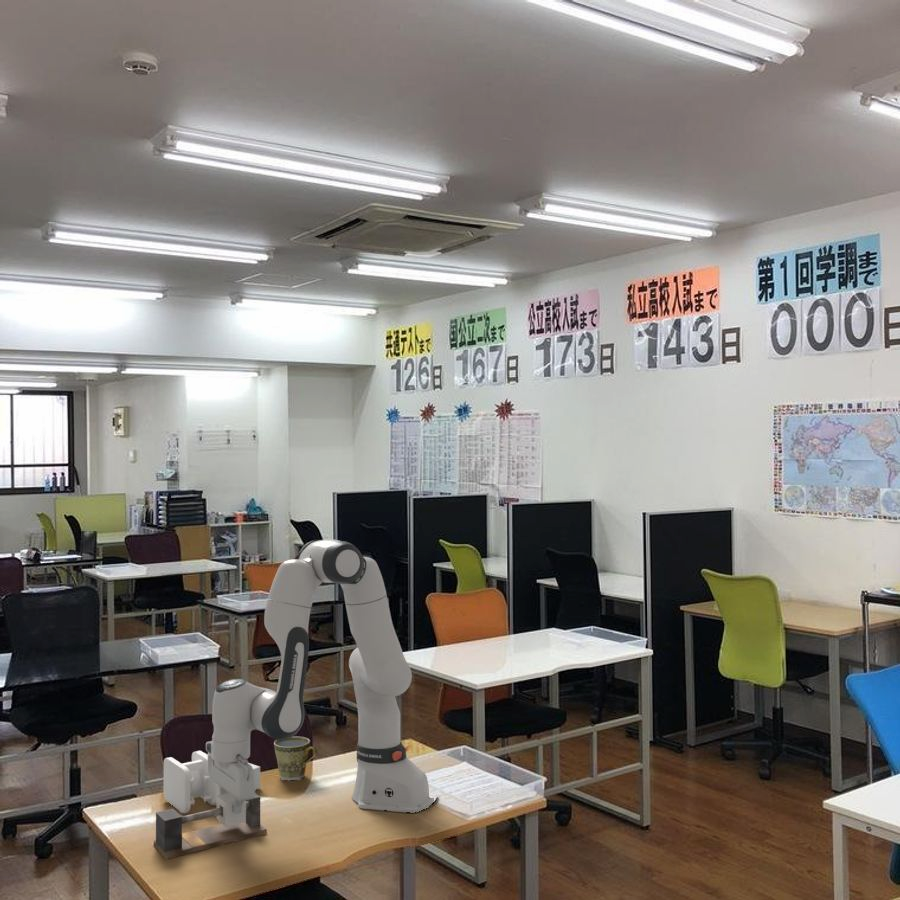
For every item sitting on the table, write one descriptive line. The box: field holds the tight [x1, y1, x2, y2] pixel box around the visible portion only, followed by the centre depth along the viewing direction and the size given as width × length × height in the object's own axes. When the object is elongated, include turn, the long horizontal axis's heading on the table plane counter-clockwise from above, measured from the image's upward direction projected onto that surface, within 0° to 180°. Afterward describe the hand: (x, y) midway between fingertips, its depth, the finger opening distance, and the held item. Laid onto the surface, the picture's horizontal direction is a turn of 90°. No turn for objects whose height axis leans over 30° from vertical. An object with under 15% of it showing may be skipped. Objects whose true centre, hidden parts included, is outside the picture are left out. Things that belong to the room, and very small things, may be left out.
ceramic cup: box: [273, 735, 318, 781], centre depth 256 cm, size 13×10×10 cm
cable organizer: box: [163, 750, 220, 814], centre depth 238 cm, size 15×11×12 cm
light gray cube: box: [248, 762, 261, 791], centre depth 248 cm, size 6×6×6 cm
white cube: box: [216, 793, 246, 827], centre depth 218 cm, size 5×6×6 cm
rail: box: [153, 792, 268, 859], centre depth 215 cm, size 24×9×8 cm, turn 126°
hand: (231, 808), depth 218 cm, fingers closed on white cube, 6 cm apart
